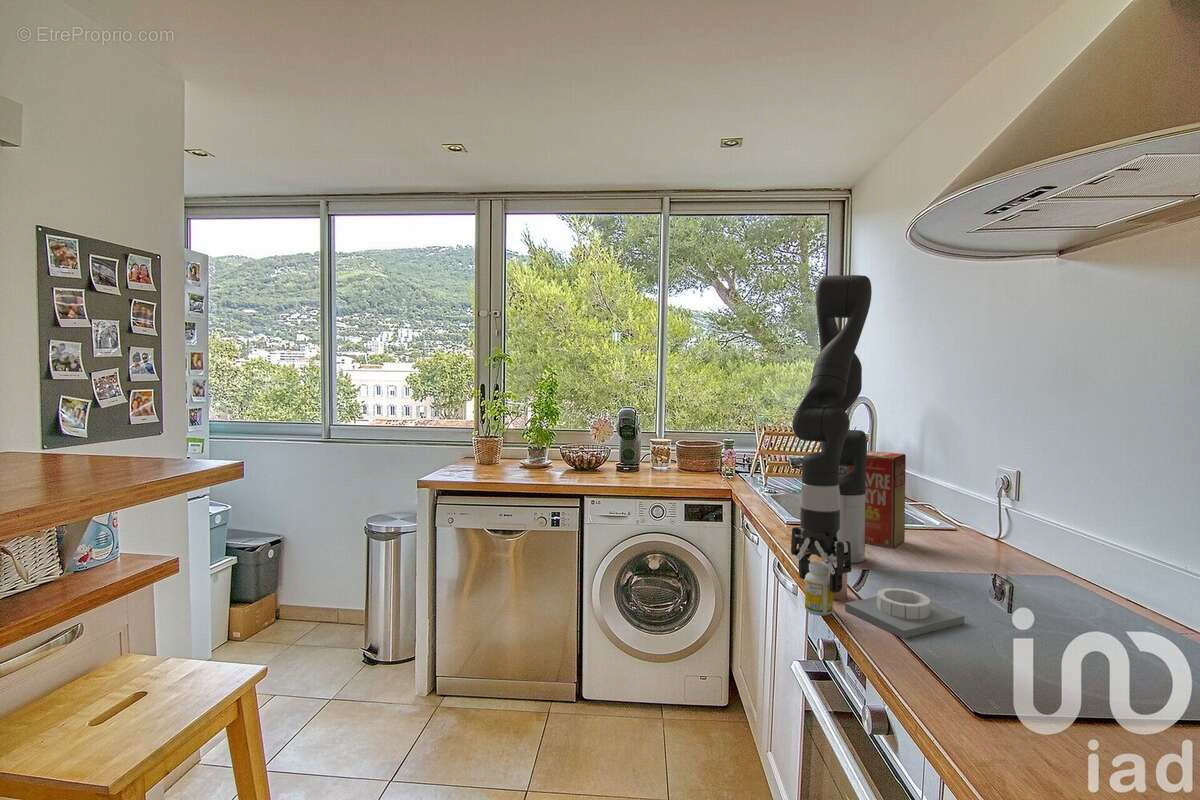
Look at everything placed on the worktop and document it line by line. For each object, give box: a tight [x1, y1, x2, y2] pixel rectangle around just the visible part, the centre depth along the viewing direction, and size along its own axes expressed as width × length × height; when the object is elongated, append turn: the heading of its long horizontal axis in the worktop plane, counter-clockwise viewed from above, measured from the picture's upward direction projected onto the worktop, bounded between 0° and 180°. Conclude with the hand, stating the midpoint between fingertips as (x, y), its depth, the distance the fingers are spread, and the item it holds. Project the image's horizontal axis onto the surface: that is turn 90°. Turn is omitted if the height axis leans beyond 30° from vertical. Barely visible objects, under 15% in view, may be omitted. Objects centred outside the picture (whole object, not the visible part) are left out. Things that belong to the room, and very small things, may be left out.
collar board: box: [844, 587, 965, 639], centre depth 118 cm, size 14×16×4 cm
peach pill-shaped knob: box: [829, 564, 848, 601], centre depth 129 cm, size 5×5×6 cm
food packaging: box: [846, 450, 907, 549], centre depth 168 cm, size 13×9×25 cm
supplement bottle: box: [804, 561, 834, 617], centre depth 121 cm, size 5×5×10 cm
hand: (819, 584), depth 120 cm, fingers open, 8 cm apart
